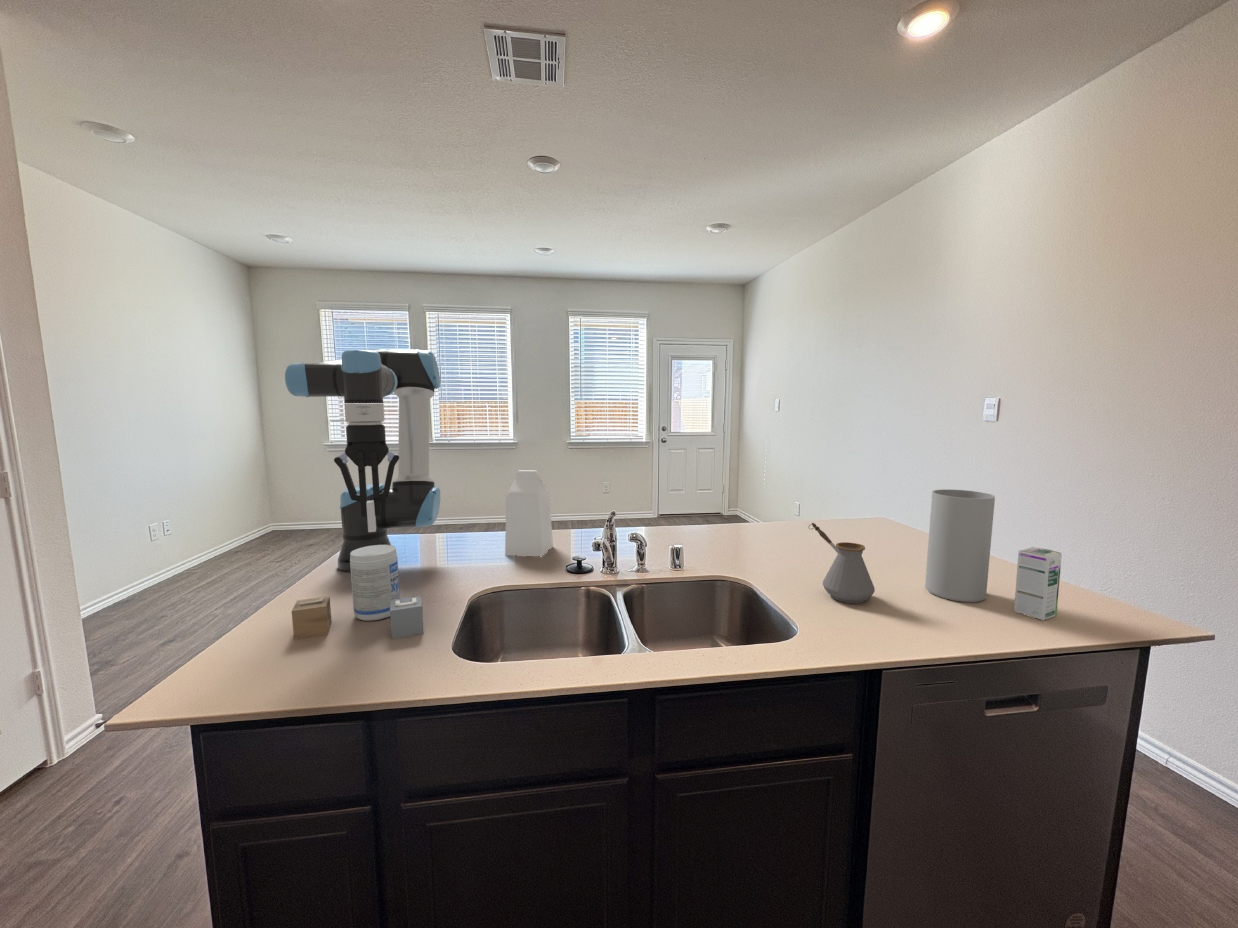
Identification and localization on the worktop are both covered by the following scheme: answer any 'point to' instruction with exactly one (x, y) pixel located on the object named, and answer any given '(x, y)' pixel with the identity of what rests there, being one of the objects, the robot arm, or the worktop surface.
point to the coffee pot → (847, 572)
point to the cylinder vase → (959, 544)
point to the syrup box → (1037, 582)
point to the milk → (528, 516)
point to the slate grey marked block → (406, 617)
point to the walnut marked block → (311, 617)
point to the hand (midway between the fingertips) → (372, 530)
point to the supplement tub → (374, 581)
